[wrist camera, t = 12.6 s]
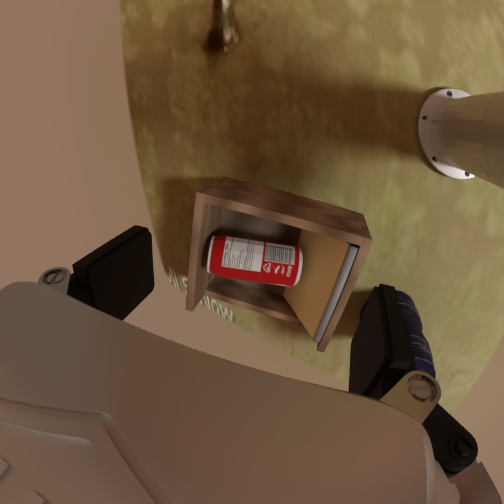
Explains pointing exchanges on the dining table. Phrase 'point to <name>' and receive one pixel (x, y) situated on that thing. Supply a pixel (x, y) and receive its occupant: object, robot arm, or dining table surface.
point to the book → (320, 280)
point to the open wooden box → (266, 229)
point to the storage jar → (414, 333)
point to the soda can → (255, 260)
